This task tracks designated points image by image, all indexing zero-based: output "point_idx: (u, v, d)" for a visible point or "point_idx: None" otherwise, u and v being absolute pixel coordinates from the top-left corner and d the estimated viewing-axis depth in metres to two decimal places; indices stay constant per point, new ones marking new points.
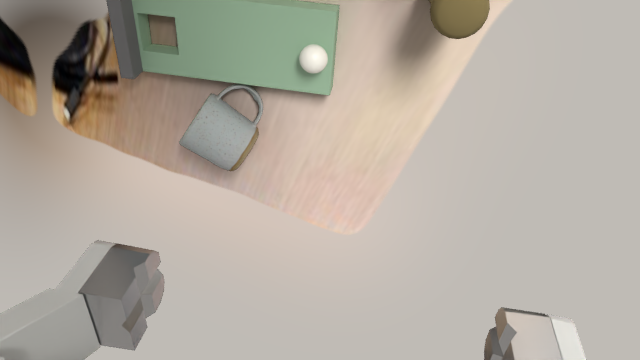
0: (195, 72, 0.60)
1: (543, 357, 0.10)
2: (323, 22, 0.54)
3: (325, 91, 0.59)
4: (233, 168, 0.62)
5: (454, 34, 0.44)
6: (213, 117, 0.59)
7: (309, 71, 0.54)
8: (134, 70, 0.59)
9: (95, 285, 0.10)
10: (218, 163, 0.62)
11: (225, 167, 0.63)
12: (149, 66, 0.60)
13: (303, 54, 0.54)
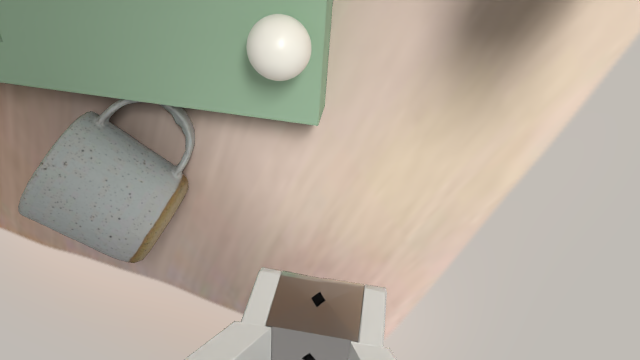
0: (42, 77, 0.29)
1: (342, 322, 0.10)
2: None
3: (309, 117, 0.28)
4: (134, 260, 0.31)
5: None
6: (81, 163, 0.28)
7: (269, 76, 0.24)
8: None
9: (281, 317, 0.10)
10: (102, 251, 0.31)
11: (118, 258, 0.31)
12: None
13: (253, 37, 0.23)
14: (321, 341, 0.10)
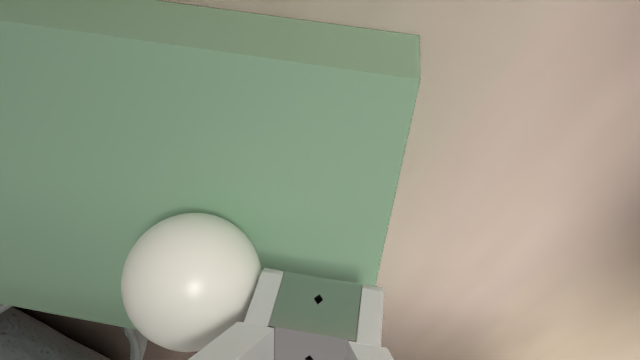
0: None
1: (339, 322, 0.10)
2: (342, 127, 0.10)
3: None
4: None
5: None
6: None
7: None
8: None
9: (283, 318, 0.10)
10: None
11: None
12: None
13: None
14: (318, 341, 0.10)
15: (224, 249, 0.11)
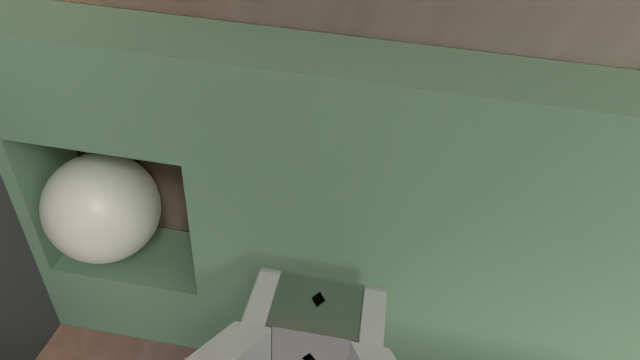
0: None
1: (342, 322, 0.10)
2: None
3: None
4: None
5: None
6: None
7: None
8: (12, 359, 0.14)
9: (281, 317, 0.10)
10: None
11: None
12: (82, 314, 0.16)
13: (41, 194, 0.13)
14: (321, 341, 0.10)
15: (123, 157, 0.14)
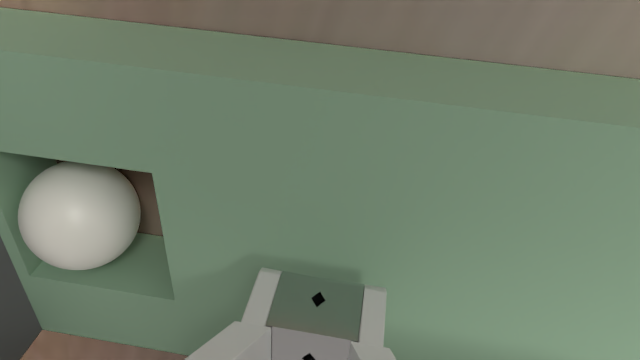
0: None
1: (342, 322, 0.10)
2: None
3: None
4: None
5: None
6: None
7: None
8: None
9: (281, 317, 0.10)
10: None
11: None
12: (63, 320, 0.16)
13: None
14: (321, 341, 0.10)
15: None
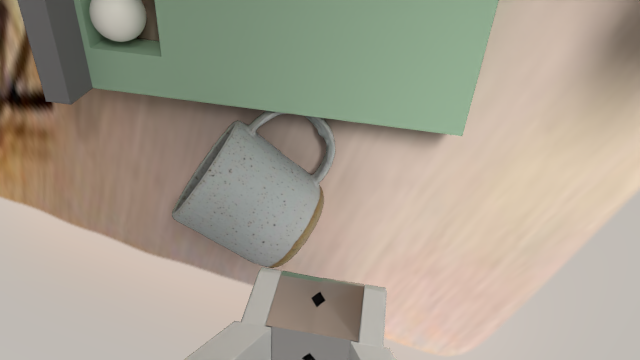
0: (194, 90, 0.31)
1: (342, 322, 0.10)
2: None
3: (454, 128, 0.29)
4: (275, 265, 0.32)
5: None
6: (243, 171, 0.29)
7: (105, 36, 0.29)
8: (72, 87, 0.29)
9: (281, 317, 0.10)
10: (247, 256, 0.32)
11: (260, 263, 0.32)
12: (104, 79, 0.31)
13: (91, 2, 0.28)
14: (321, 341, 0.10)
15: None
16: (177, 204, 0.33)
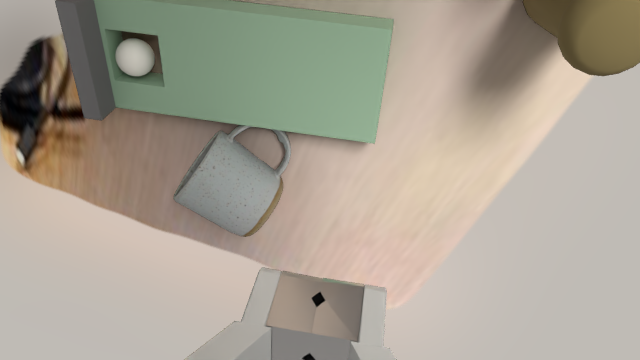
0: (187, 110, 0.43)
1: (342, 322, 0.10)
2: (371, 44, 0.37)
3: (369, 138, 0.42)
4: (247, 234, 0.45)
5: (602, 69, 0.27)
6: (223, 167, 0.42)
7: (127, 73, 0.42)
8: (102, 108, 0.42)
9: (281, 317, 0.10)
10: (227, 228, 0.45)
11: (236, 233, 0.45)
12: (124, 101, 0.44)
13: (116, 50, 0.41)
14: (321, 341, 0.10)
15: None
16: (177, 190, 0.46)
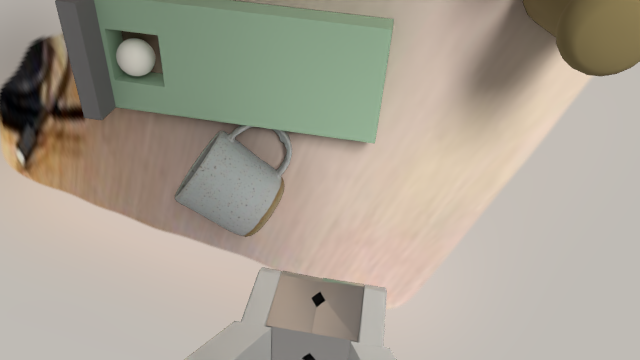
0: (187, 110, 0.43)
1: (342, 322, 0.10)
2: (371, 44, 0.37)
3: (369, 138, 0.42)
4: (248, 234, 0.45)
5: (600, 70, 0.28)
6: (224, 167, 0.42)
7: (128, 73, 0.42)
8: (102, 108, 0.42)
9: (281, 317, 0.10)
10: (228, 228, 0.45)
11: (237, 233, 0.45)
12: (124, 101, 0.44)
13: (117, 50, 0.41)
14: (321, 341, 0.10)
15: (141, 39, 0.42)
16: (178, 190, 0.46)
